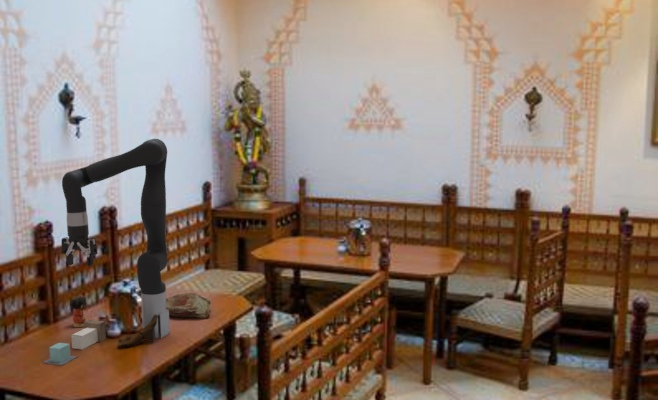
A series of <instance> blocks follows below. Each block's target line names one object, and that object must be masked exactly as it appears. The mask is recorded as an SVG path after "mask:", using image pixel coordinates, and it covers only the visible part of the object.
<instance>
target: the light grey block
mask: <svg viewBox="0 0 658 400" xmlns="http://www.w3.org/2000/svg"><path fill="white" fill-rule="evenodd" d="M70 336H71V349H77V350H85V349H86V348H88V347H89V346H92V345H93V344H96V343H97V342H100V343H101V342H103V341H105V340H106V339H107V337H106V321H105V320H92V319H87V320H85V322H84V326H83V329H80V330H79V331H77V332H75V333H72V334H71V335H70Z"/></svg>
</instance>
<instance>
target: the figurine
mask: <svg viewBox="0 0 658 400" xmlns="http://www.w3.org/2000/svg"><path fill="white" fill-rule="evenodd" d="M86 300H87V299H86V297H84V296H80V295H78V296H74V297H73V298H72V299H70V303H69V306H70V307H71V309H72V310H74V311H73V317H72V321H73V327H74V328H75V327H76V328H84V322H85V321H86V318H85V316H84V312H83V310H84V309H85V304H86Z"/></svg>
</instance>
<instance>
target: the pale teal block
mask: <svg viewBox="0 0 658 400" xmlns="http://www.w3.org/2000/svg"><path fill="white" fill-rule="evenodd" d="M70 345H71V344H70V343H67V342H66V343H65V342H58V343H55V344H54V345H52V346H49V359H50V361H53V362H60V363H61V362H63V361H65V360H67V359H69V358H70V356H71V348H70V347H71V346H70Z"/></svg>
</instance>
